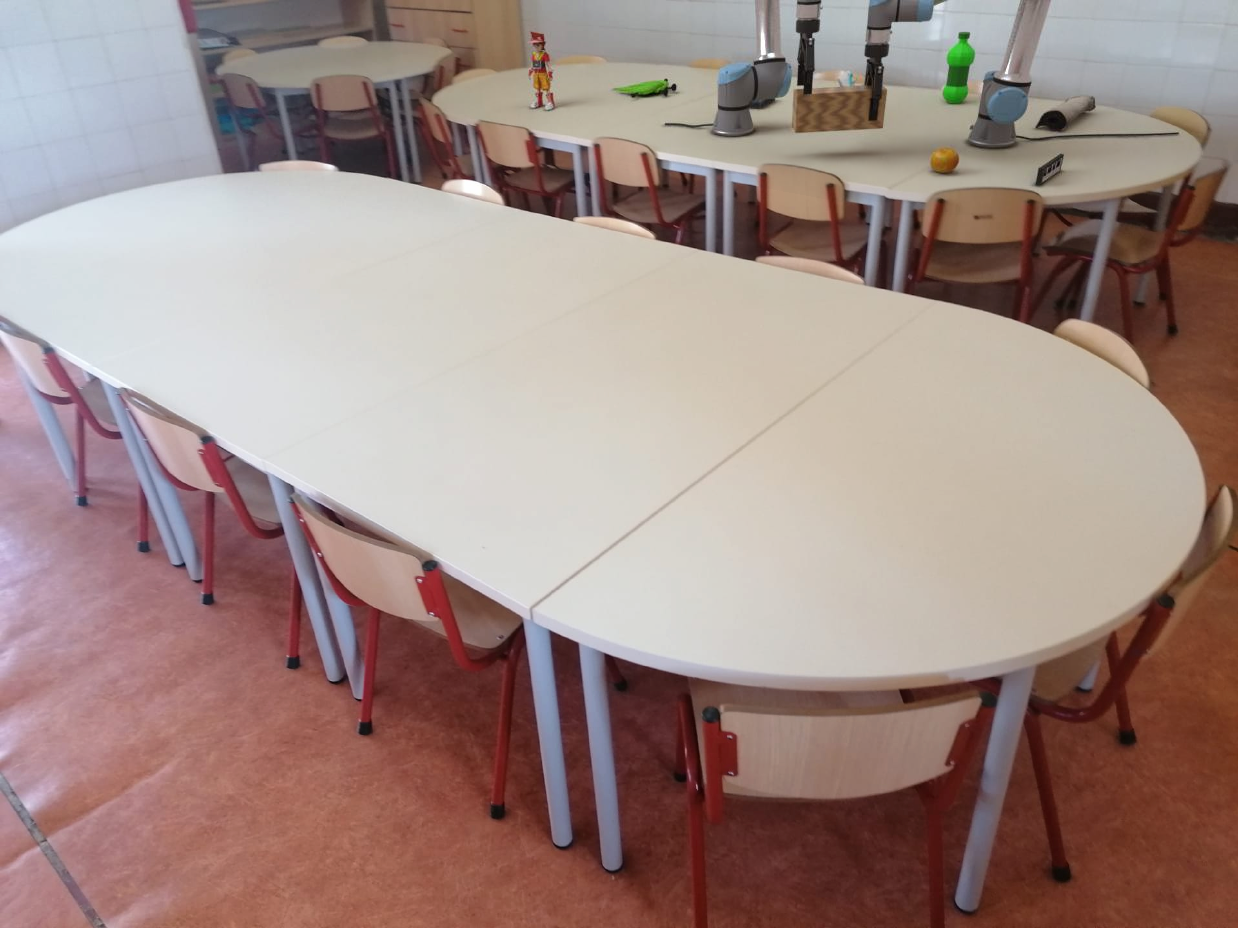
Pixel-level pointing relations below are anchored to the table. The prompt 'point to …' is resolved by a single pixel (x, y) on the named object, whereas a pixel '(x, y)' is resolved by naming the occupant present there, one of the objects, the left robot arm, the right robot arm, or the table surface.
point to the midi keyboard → (1049, 169)
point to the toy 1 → (541, 71)
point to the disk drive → (760, 103)
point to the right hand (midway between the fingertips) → (869, 117)
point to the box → (836, 109)
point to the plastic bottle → (958, 69)
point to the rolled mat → (1066, 112)
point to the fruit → (944, 160)
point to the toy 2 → (648, 88)
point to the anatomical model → (847, 80)
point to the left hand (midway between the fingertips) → (804, 90)
